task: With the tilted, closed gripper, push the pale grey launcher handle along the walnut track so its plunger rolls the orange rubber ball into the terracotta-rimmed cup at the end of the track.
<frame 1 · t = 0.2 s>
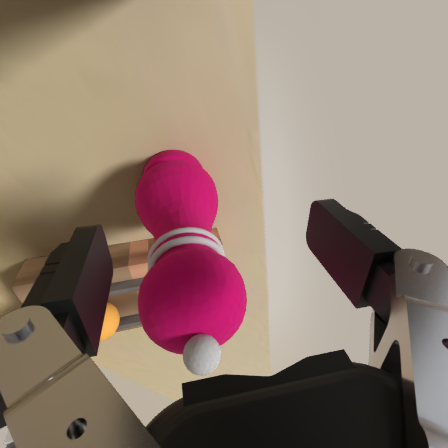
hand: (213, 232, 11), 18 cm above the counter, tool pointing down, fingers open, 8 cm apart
pepper mill: (174, 178, 28), on the counter
launcher plunger: (49, 378, 24), point 11 cm above the counter, slide at 0.0 cm
launcher track: (135, 274, 34), on the counter
ball: (99, 320, 29), point 6 cm above the counter, touching launcher track
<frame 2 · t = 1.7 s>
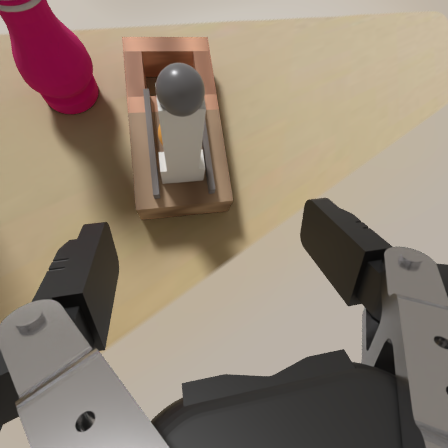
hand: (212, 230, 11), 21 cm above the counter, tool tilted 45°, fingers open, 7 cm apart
pepper mill: (72, 93, 34), on the counter
launcher plunger: (181, 138, 22), point 11 cm above the counter, slide at 0.0 cm
launcher track: (176, 134, 35), on the counter
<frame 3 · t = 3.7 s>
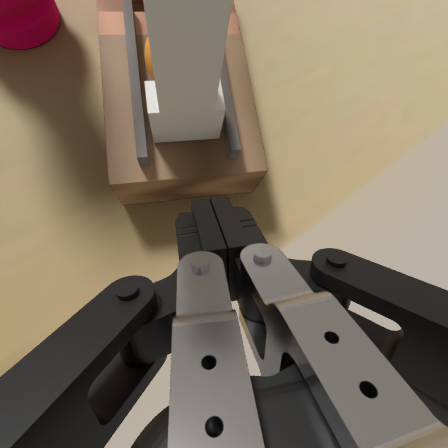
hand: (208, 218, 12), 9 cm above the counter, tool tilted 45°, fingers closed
pepper mill: (21, 21, 23), on the counter
launcher plunger: (185, 28, 11), point 11 cm above the counter, slide at 0.0 cm
launcher track: (175, 81, 24), on the counter
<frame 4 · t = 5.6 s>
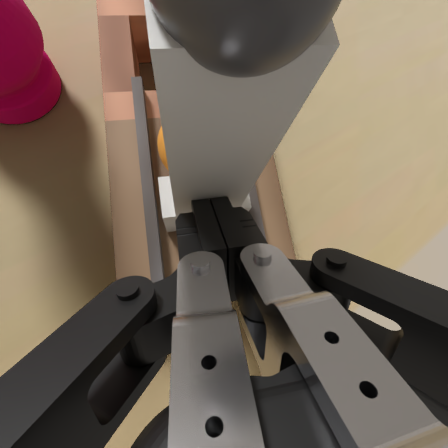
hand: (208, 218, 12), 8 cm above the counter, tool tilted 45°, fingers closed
pepper mill: (19, 90, 21), on the counter
launcher plunger: (212, 150, 9), point 11 cm above the counter, slide at 1.2 cm, touching gripper
launcher track: (188, 153, 21), on the counter
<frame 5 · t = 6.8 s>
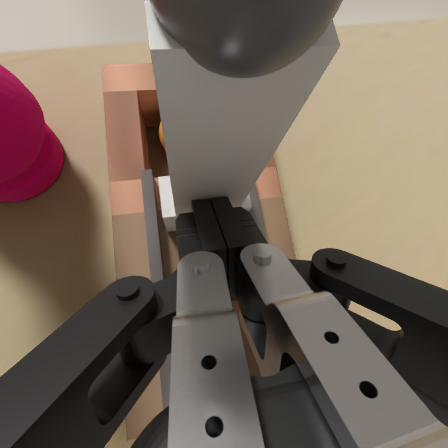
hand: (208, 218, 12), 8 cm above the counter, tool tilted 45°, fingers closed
pepper mill: (18, 162, 20), on the counter
launcher plunger: (212, 150, 9), point 11 cm above the counter, slide at 7.2 cm, touching gripper
launcher track: (199, 229, 20), on the counter
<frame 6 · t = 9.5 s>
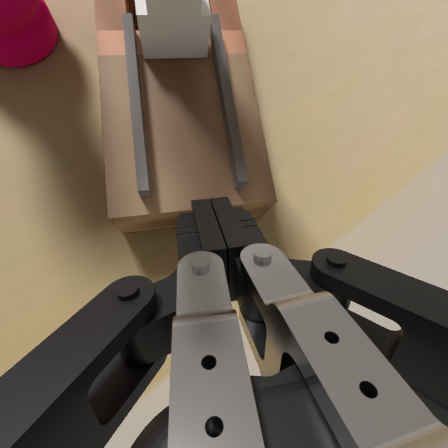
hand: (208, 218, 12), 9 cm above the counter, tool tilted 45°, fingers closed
pepper mill: (17, 37, 22), on the counter
launcher track: (178, 100, 22), on the counter
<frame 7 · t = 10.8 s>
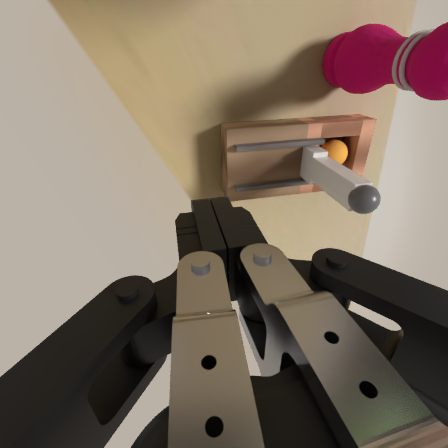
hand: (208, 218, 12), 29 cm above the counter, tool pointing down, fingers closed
pepper mill: (343, 60, 37), on the counter
launcher plunger: (334, 179, 33), point 11 cm above the counter, slide at 8.1 cm
launcher track: (289, 153, 42), on the counter
ball: (333, 153, 41), point 2 cm above the counter, tilted 48°
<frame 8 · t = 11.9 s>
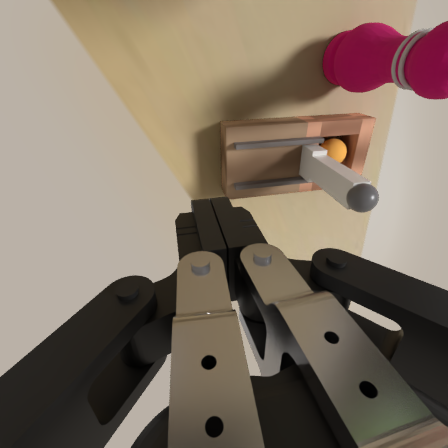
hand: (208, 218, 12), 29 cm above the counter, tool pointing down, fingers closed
pepper mill: (343, 59, 37), on the counter
launcher plunger: (333, 177, 33), point 11 cm above the counter, slide at 8.1 cm
launcher track: (288, 151, 42), on the counter
ball: (332, 152, 42), point 2 cm above the counter, tilted 51°
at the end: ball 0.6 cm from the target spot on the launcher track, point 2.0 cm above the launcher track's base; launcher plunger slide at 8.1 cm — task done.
